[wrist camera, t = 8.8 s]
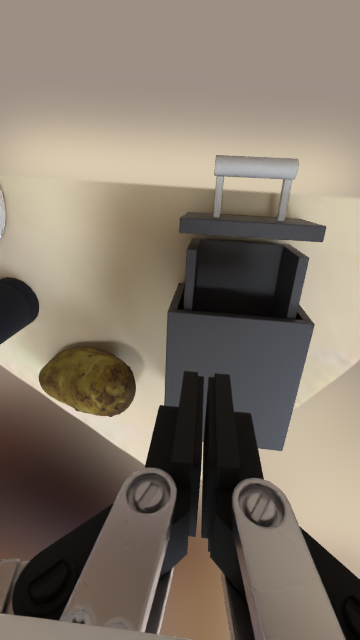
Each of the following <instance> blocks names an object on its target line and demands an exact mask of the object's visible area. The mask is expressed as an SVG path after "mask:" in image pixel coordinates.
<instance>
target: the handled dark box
mask: <svg viewBox="0 0 360 640" xmlns="http://www.w3.org/2000/svg"><path fill="white" fill-rule="evenodd" d="M298 167H299V160H298V159H291V158H267V157H244V156H221V155H216V161H215V173H214V175H215V176H217V178H216V189H215V201H214V212H213V214H207V213H190V212H188V213H186V214H185V215H183V216H182V217H181V218H180V225H179V233H188V234H203V235H219V236H234V237H250V238H265V239H281V240H296V241H312V242H323V239H324V235H325V230H326V226H323V225H319V224H316V223H312V222H309V221H306V220H302V219H292V218H285V216H286V211H287V205H288V200H289V195H290V189H291V183H292V180H293V179H295V177H296V175H297V172H298ZM224 176H228V177H250V178H270V179H284V180H283V185H282V191H281V196H280V202H279V208H278V214H277V218H275V217H258V216H241V215H224V214H220V212H221V202H222V192H223V182H224ZM308 261H309V257H307V256H306V255H304V254H303V253H301V252H300V251H298V250H297V249H295V248H294V247H292V246H291V245H287V244H272V243H257V242H241V241H226V240H211V239H196V238H193V239H192V240H191V243H190V245H189V247H188V249H187V256H186V273H185V291H184V308H183V310H190V311H202V312H214V313H225V314H237V315H249V316H261V317H272V318H284V319H296V315H297V310H298V306H299V301H300V297H301V292H302V288H303V283H304V279H305V274H306V270H307V266H308Z"/></svg>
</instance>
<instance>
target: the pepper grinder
mask: <svg viewBox="0 0 360 640" xmlns="http://www.w3.org/2000/svg"><path fill="white" fill-rule="evenodd" d="M38 311H39V304H38V300H37V297H36V295H35V293H34V292H33V291H32V289H31V288H30V287H29V286H27V285H26V284H25V283H24V282H22V281H20V280H17V279H14V278H3V279H0V344H1V343H3V342H4V341H6V340H7V339H9V338H10V337H11V336H13V335H14V334H16V333H17V332H18V331H20V330H21V329H23V328H24V327H26V326H27V325H28V324H30V323H31V322H33V321H34V320H35V318H36V317H37V315H38Z"/></svg>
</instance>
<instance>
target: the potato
mask: <svg viewBox="0 0 360 640" xmlns="http://www.w3.org/2000/svg"><path fill="white" fill-rule="evenodd" d="M39 382H40V385H41V387H42V389H43V390H44V391H45V392H46V393H47V394H48V395H50V396H51V397H53V398H55V399H57V400H58V401H60V402H62V403H65V404H67V405H69V406H71V407H73V408H75V410H76V411H81V412H84V413H90V414H94V415H99V416H109V417H112V416H114V415H117V414H120V413H122V412H124V411H125V410H126V409H127V408H128V407H129V405H130V404H131V403H132V401H133V399H134V396H135V392H136V384H135V379H134V375H133V371H132V370H131V369H130V367H129V366H127V365H126V363H124V362H123V361H122V360H121V359H119V358H118V357H116V356H115V355H113V354H110V353H104V352H100V351H98V350H96V349H93V348H75V349H70V350H67V351H64V352H61V353H60V354H58V355H56V356H55V357H54V358H53V359H52V360H51V361H49V362H48V363H47V364H46V365H45V366H44V367H43V368H42V370H41V372H40V375H39Z"/></svg>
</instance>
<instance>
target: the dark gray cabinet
mask: <svg viewBox="0 0 360 640" xmlns="http://www.w3.org/2000/svg"><path fill="white" fill-rule="evenodd" d="M184 291H185V284H184V283H179V284H178V287H177V290H176V292H175V295H174V297H173V300H172V302H171V305H170V307H169V310H168V316H167V345H166V374H165V402H164V406H175V407H179V401H180V394H181V387H182V380H183V373H184V371H192V372H198V376H204V395H203V430H202V442H204V427H205V415H206V402H207V390H208V378H209V377H214V374H215V373H218V374H229V375H230V381H231V390H232V399H233V407H234V412H245V413H251V416H252V420H253V425H254V431H255V436H256V441H257V446H258V448H261V449H269V450H278V451H282V450H283V446H284V442H285V438H286V434H287V431H288V427H289V423H290V419H291V415H292V411H293V407H294V403H295V399H296V395H297V391H298V387H299V383H300V379H301V376H302V372H303V368H304V364H305V360H306V356H307V352H308V348H309V344H310V340H311V336H312V332H313V328H314V323H313V322H312V321H311V319H310V318H309V317H308V315H307V314H306V313H305V311H304V310H303V309H302V307H301V306H300V305H299V306H298V310H297V315H296V319H284V318H272V317H261V316H249V315H237V314H225V313H214V312H202V311H190V310H183V308H184Z"/></svg>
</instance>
